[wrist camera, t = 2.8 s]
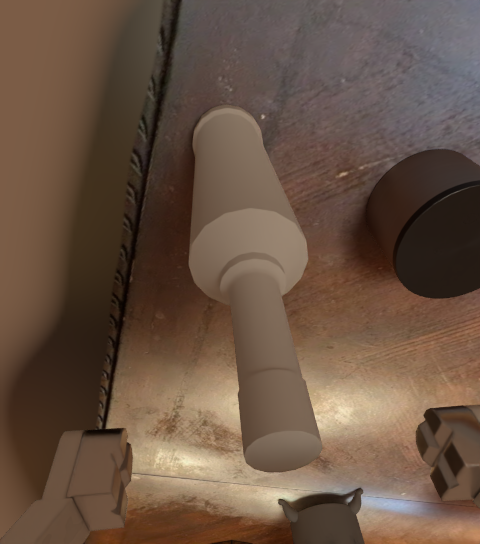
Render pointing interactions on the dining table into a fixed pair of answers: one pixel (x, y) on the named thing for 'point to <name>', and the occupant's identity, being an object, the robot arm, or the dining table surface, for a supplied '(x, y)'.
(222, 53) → the dining table surface
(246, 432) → the bottle
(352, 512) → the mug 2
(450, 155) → the canister
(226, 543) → the mug
